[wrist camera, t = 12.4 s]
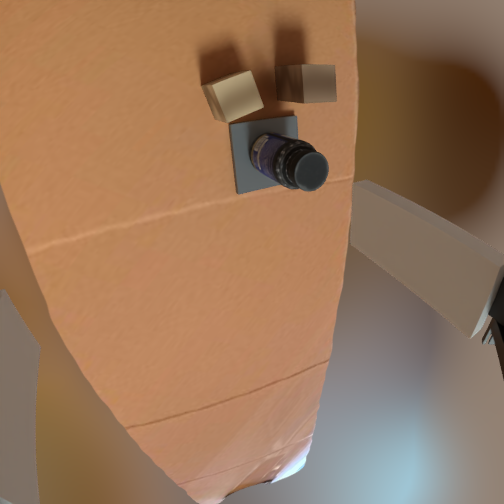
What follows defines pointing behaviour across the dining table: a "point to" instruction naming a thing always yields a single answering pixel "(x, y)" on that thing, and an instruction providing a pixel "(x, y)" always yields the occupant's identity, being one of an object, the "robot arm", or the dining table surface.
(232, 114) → the oak block
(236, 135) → the slate coaster
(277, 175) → the pill bottle
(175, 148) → the dining table surface
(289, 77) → the walnut block
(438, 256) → the robot arm
